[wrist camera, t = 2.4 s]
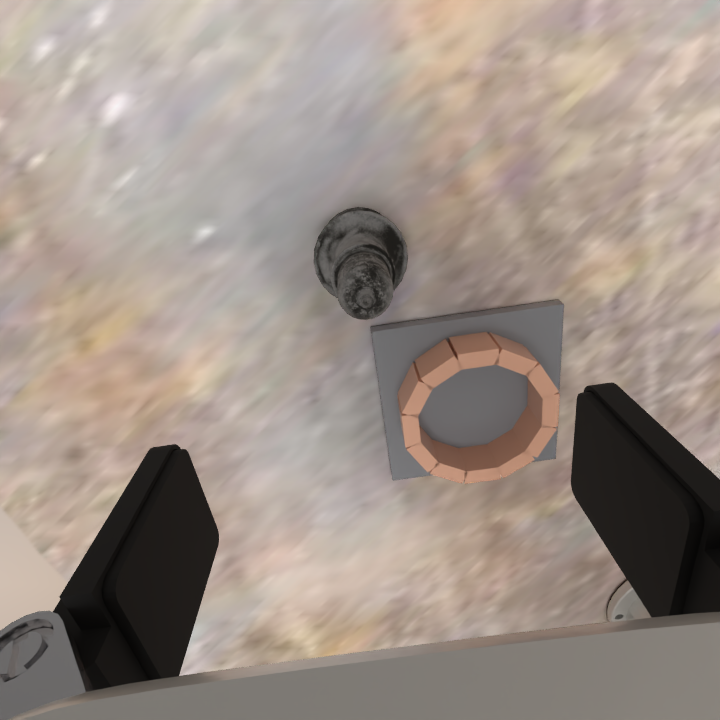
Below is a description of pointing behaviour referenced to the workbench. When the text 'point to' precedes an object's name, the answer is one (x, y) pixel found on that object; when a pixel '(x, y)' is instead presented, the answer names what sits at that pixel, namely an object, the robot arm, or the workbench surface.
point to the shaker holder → (471, 391)
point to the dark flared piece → (361, 261)
